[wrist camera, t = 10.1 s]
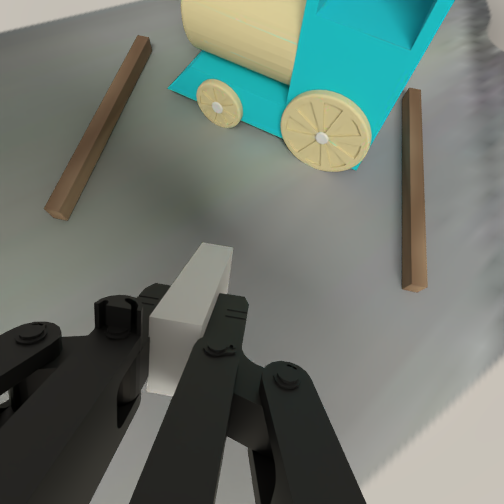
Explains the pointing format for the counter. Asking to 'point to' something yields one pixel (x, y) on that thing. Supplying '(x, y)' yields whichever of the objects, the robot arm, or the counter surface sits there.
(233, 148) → the counter surface
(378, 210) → the counter surface
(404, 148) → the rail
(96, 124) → the bar
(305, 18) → the toy train
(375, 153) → the counter surface
